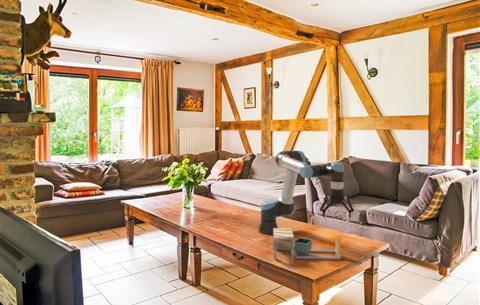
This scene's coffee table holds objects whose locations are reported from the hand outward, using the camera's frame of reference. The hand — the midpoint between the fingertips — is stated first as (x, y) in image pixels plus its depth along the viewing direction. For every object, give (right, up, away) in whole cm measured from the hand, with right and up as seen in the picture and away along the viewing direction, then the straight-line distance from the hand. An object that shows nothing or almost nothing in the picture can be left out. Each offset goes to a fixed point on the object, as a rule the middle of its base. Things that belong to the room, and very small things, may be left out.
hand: (336, 222), depth 220 cm
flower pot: (-20, -21, +4) cm, 29 cm away
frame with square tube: (-12, -21, +2) cm, 24 cm away
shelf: (-32, -21, +4) cm, 38 cm away
